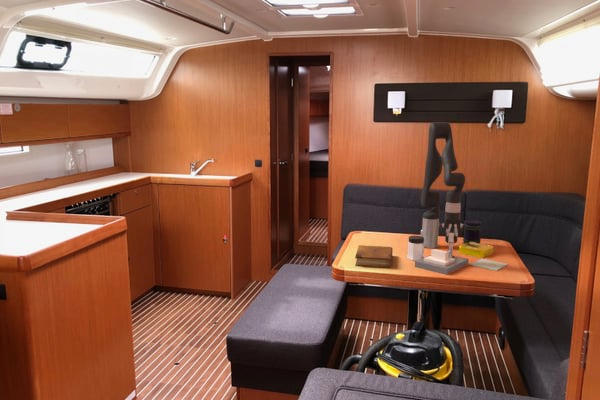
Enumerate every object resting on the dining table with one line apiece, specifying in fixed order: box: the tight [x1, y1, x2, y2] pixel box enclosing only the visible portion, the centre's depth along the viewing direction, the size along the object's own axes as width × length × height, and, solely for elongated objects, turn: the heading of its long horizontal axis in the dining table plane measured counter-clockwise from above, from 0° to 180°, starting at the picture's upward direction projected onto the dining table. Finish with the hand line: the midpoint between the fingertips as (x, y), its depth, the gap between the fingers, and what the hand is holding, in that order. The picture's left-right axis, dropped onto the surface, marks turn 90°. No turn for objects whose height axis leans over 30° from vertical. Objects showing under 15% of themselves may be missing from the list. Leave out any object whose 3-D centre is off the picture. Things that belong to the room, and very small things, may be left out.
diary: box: [355, 244, 394, 269], centre depth 259 cm, size 23×19×6 cm
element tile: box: [458, 242, 494, 259], centre depth 274 cm, size 15×15×5 cm
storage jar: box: [462, 219, 482, 244], centre depth 288 cm, size 10×10×15 cm
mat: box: [469, 258, 508, 272], centre depth 251 cm, size 14×14×1 cm
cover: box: [424, 248, 455, 266], centre depth 247 cm, size 12×10×6 cm
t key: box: [448, 232, 455, 258], centre depth 253 cm, size 2×14×11 cm, turn 160°
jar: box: [406, 235, 425, 262], centre depth 262 cm, size 9×8×12 cm
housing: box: [414, 254, 470, 276], centre depth 250 cm, size 18×23×3 cm
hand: (451, 242), depth 255 cm, fingers closed on t key, 3 cm apart
